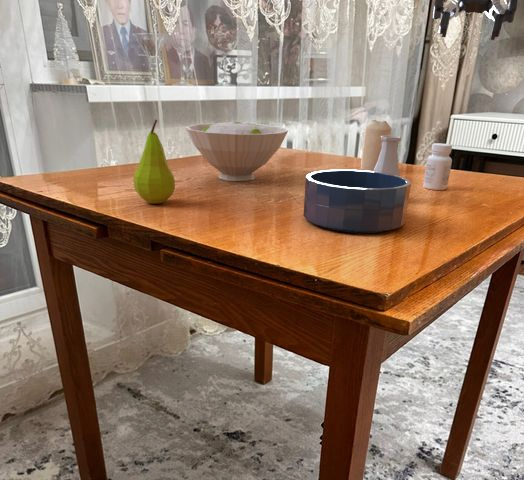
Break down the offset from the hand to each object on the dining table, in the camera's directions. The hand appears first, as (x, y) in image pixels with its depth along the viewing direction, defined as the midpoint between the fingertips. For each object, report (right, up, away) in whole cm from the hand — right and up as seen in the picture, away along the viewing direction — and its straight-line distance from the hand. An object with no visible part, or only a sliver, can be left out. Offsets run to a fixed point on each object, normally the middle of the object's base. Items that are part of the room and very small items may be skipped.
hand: (468, 35), depth 98 cm
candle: (-13, -18, +20) cm, 30 cm away
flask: (-17, -32, -7) cm, 37 cm away
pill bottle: (-5, -27, +4) cm, 27 cm away
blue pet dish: (-24, -39, -20) cm, 50 cm away
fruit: (-54, -34, -13) cm, 65 cm away
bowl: (-42, -24, +7) cm, 49 cm away
